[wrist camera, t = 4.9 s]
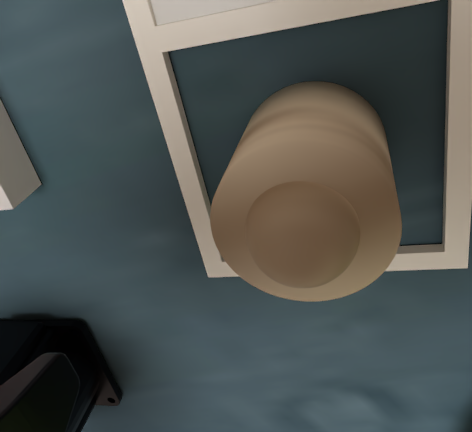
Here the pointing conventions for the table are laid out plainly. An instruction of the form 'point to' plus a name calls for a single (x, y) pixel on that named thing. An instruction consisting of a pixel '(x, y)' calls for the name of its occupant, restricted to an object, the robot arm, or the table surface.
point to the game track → (284, 17)
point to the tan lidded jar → (309, 196)
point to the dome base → (14, 166)
